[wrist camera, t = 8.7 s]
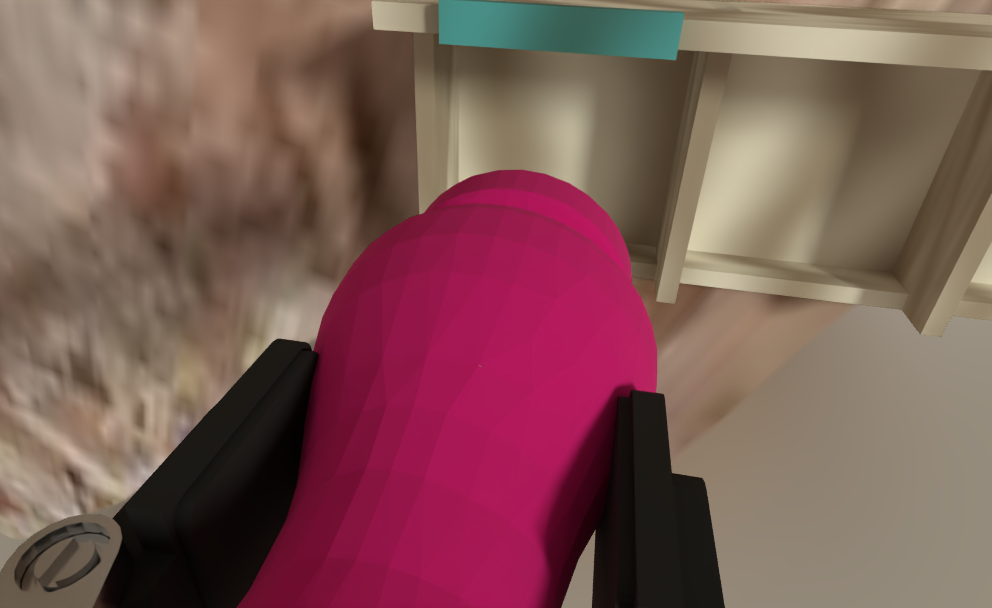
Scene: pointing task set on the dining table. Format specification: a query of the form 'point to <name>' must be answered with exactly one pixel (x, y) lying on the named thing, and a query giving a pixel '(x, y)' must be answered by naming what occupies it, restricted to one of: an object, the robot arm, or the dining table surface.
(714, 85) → the rack
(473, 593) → the pepper mill
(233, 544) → the robot arm
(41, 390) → the dining table surface
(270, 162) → the dining table surface
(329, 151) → the dining table surface
